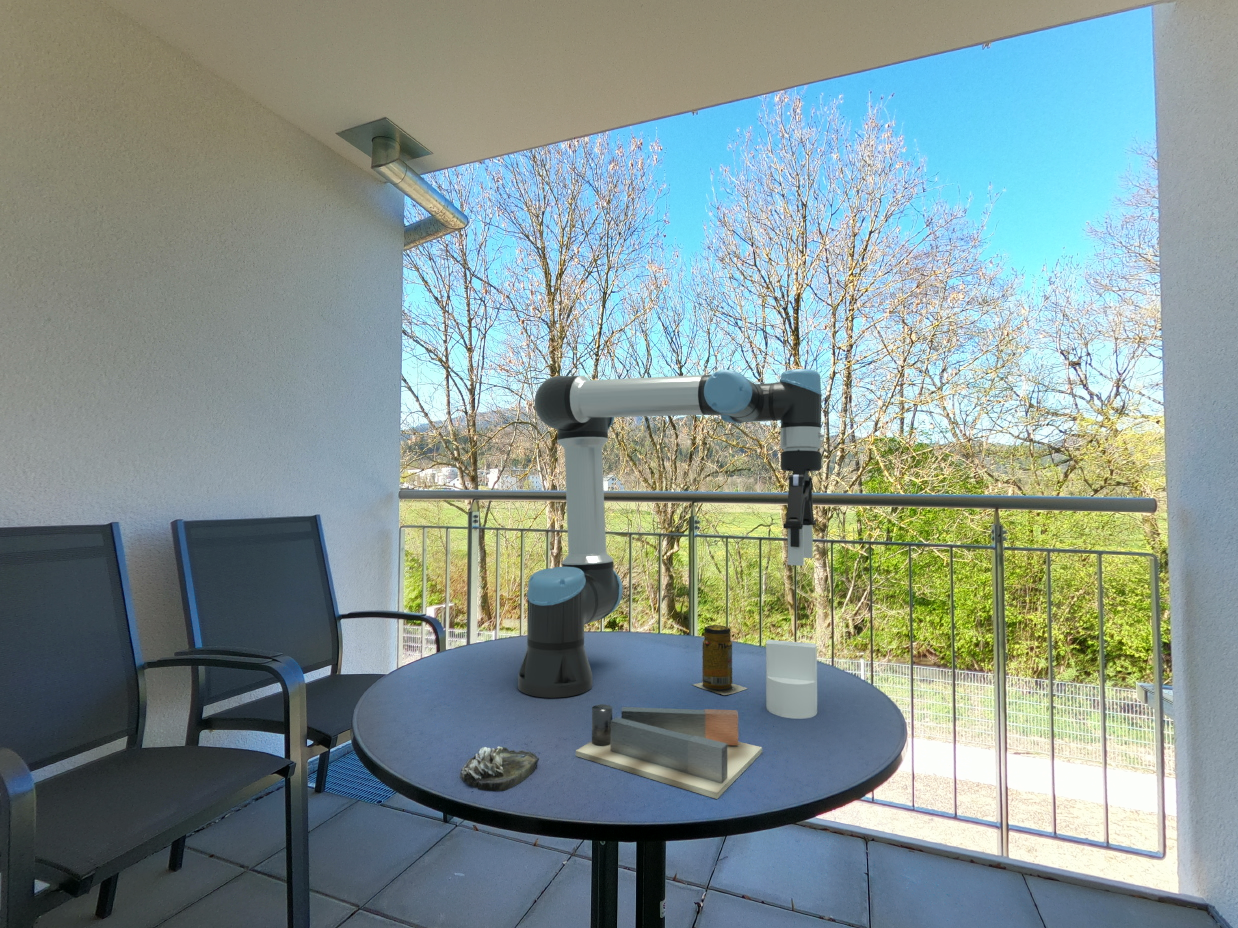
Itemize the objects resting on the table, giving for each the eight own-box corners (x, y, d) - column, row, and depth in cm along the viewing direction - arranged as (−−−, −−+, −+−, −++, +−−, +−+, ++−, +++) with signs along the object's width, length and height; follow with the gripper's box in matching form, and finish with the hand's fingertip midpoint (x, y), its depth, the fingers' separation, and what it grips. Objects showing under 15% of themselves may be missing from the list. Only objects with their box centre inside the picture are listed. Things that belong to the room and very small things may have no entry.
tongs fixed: (585, 744, 94) (585, 710, 94) (599, 735, 97) (599, 702, 97) (721, 783, 81) (721, 743, 82) (732, 772, 85) (732, 734, 85)
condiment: (716, 679, 129) (716, 622, 130) (748, 689, 123) (747, 629, 123) (692, 685, 125) (692, 626, 125) (724, 696, 118) (724, 634, 119)
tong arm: (621, 740, 95) (621, 710, 95) (622, 735, 97) (622, 705, 97) (738, 745, 93) (738, 714, 93) (736, 739, 95) (736, 710, 95)
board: (575, 755, 91) (575, 750, 91) (634, 720, 106) (634, 716, 106) (717, 798, 79) (717, 792, 79) (762, 752, 93) (761, 747, 93)
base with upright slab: (817, 704, 114) (817, 639, 115) (816, 721, 106) (816, 651, 106) (768, 698, 117) (768, 635, 118) (763, 714, 109) (763, 647, 109)
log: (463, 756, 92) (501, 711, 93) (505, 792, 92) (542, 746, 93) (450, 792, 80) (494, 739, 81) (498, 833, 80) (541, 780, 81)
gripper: (813, 445, 104) (813, 570, 103) (827, 454, 127) (827, 555, 126) (769, 446, 107) (768, 567, 107) (790, 454, 130) (790, 553, 129)
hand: (800, 561), depth 116 cm, fingers open, 13 cm apart
